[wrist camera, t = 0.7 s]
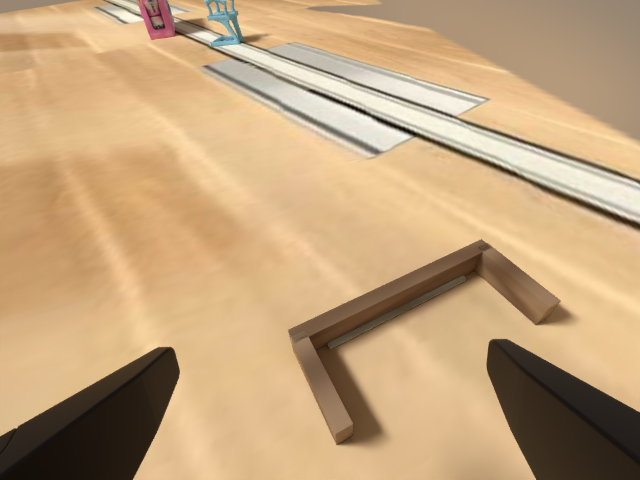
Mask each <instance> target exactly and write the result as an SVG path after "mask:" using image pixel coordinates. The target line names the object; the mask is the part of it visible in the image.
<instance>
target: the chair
mask: <svg viewBox="0 0 640 480" xmlns="http://www.w3.org/2000/svg"><path fill="white" fill-rule="evenodd" d="M204 1H205V3H206V6H207V7H208V10H209V16H207V18H208V20H215V21H218V22H220V23H222V24H223V25H224V26H225V27H226V28H227V30H228V31H229V32H230V34H231V35H232V36H221V37H219V38H217V39H216V40H214V41H213V42H211V46H221V45H232V44H240V42H243V41H244V39H243V36H242V34H241V31H240V28H239V25H238V22H237V15H238V11H235V9H234V0H230V1H231V9H232V12H227V8H226V0H204ZM212 2H215V4H216V9H217V12H216V13H214V14H212V10H211V8H210V6H209V4H210V3H212ZM217 2H219V3H221V4H223V5H224V12H220V9H219V5H218V3H217ZM229 20H231V21H232V23H233V25H234V27H235V30H236V33H237V35H238V37H237V35H236V34H235V32H234V31H233V29H232V28H231V26H230V24H229ZM221 40H229V41H221Z"/></svg>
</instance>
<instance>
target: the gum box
mask: <svg viewBox="0 0 640 480" xmlns="http://www.w3.org/2000/svg"><path fill="white" fill-rule="evenodd" d="M137 2H138V5H139V8H140V11H141V13H142V16H143V19H144V22H145V24H146V27H147V30H148V33H149V35H150V38H151V39H158V38H165V37H172V36H175V22H174V19H173V16H172V13H171V10H170V7H169V4H168V1H167V0H137Z"/></svg>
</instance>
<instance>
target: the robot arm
mask: <svg viewBox="0 0 640 480" xmlns="http://www.w3.org/2000/svg"><path fill="white" fill-rule="evenodd" d="M487 371H488V375H489V377H490V380H491V382H492V385H493V387H494V390H495V392H496V395H497V397H498V400H499V402H500V405H501V407H502V410H503V412H504V415H505V417H506V420H507V422H508V425H509V427H510V429H511V431H512V433H513V435H514V437H515V439H516V441H517V443H518V445H519V447H520V449H521V451H522V453H523V455H524V457H525V459H526V461H527V463H528V465H529V466H530V468H531V470H532V472H533V474H534V476H535V478H536V480H640V412H638V411H636V410H635V409H633V408H631V407H629V406H627V405H626V404H624V403H622V402H620V401H618V400H616V399H615V398H613V397H611V396H609V395H607V394H606V393H604V392H602V391H600V390H598V389H597V388H595V387H593V386H591V385H589V384H587V383H586V382H584V381H582V380H580V379H578V378H577V377H575V376H573V375H571V374H569V373H568V372H566V371H564V370H562V369H560V368H558V367H557V366H555V365H553V364H551V363H549V362H548V361H546V360H544V359H542V358H540V357H539V356H537V355H535V354H533V353H531V352H529V351H528V350H526V349H524V348H522V347H520V346H519V345H517V344H515V343H513V342H511V341H510V340H507V339H492V340H491V341H490V342H489V346H488V355H487ZM179 374H180V370H179V365H178V362H177V358H176V354H175V351H174V349H173V348H172V347H158V348H156V349H154V350H152V351H151V352H149V353H147V354H145V355H143V356H142V357H140V358H138V359H136V360H135V361H133V362H131V363H129V364H128V365H126V366H124V367H122V368H120V369H119V370H117V371H115V372H113V373H112V374H110V375H108V376H106V377H105V378H103V379H101V380H99V381H97V382H96V383H94V384H92V385H90V386H89V387H87V388H85V389H83V390H82V391H80V392H78V393H76V394H74V395H73V396H71V397H69V398H67V399H66V400H64V401H62V402H60V403H59V404H57V405H55V406H53V407H52V408H50V409H48V410H46V411H44V412H43V413H41V414H39V415H37V416H36V417H34V418H32V419H30V420H29V421H27V422H25V423H23V424H21V425H20V426H18V428H17V429H16V428H15V429H12V430H11V431H9V432H7V433H5V434H4V435H2V436H0V480H133V478H134V476H135V475H136V473H137V471H138V469H139V467H140V465H141V463H142V461H143V459H144V457H145V455H146V453H147V451H148V449H149V447H150V445H151V443H152V441H153V439H154V437H155V435H156V433H157V431H158V429H159V426H160V424H161V422H162V419H163V417H164V414H165V412H166V409H167V407H168V404H169V401H170V399H171V396H172V394H173V391H174V389H175V386H176V384H177V381H178V379H179Z"/></svg>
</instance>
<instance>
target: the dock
mask: <svg viewBox="0 0 640 480" xmlns="http://www.w3.org/2000/svg"><path fill="white" fill-rule="evenodd" d="M474 270H475V271H476V272H477V273H478V274H479V275H480V276H481V277H483V278H484V279H485V280H486V281H487V282H488V283H489V284H490V285H491V286H493V287H494V288H495V289H496V290H497V291H498V292H499V293H500V294H502V295H503V296H504V297H505V298H506V299H507V300H508V301H509V302H511V303H512V304H513V305H514V306H515V307H516V308H517V309H518V310H520V311H521V312H522V313H523V314H524V315H525V316H526V317H527V318H528V319H530V320H531V321H532V322H533V323H534V324H535V325H536V324H538V323H540V322H541V321H543V320H545V319H546V318H547V317H548V316H549V315H550V313H551V312H552V311H553V310H554V309H555V307H556V306H557V305H558V304H559V302H560V300H559V299H558V298H557V297H555V296H554V295H553V294H551V293H550V292H549V291H548V290H546V289H545V288H544V287H543V286H541V285H540V284H539V283H538V282H536V281H535V280H534V279H532V278H531V277H530V276H529V275H527V274H526V273H525V272H524V271H522V270H521V269H520V268H519V267H517V266H516V265H515V264H513V263H512V262H511V261H510V260H508V259H507V258H506V257H505V256H503V255H502V254H501V253H500V252H498V251H497V250H496V249H494V248H493V247H492V246H491V245H489V244H488V243H486V242H484V241H483V240H482V239H481V240H479V241H477V242H475V243H472V244H470V245H468V246H466V247H464V248H462V249H460V250H458V251H455V252H453V253H451V254H449V255H447V256H445V257H443V258H441V259H438V260H436V261H434V262H432V263H430V264H428V265H426V266H423V267H421V268H419V269H417V270H415V271H413V272H411V273H409V274H406V275H404V276H402V277H400V278H398V279H396V280H394V281H391V282H389V283H387V284H385V285H383V286H381V287H379V288H377V289H374V290H372V291H370V292H368V293H366V294H364V295H362V296H360V297H357V298H355V299H353V300H351V301H349V302H347V303H345V304H342V305H340V306H338V307H336V308H334V309H332V310H330V311H328V312H325V313H323V314H321V315H319V316H317V317H315V318H313V319H311V320H308V321H306V322H304V323H302V324H300V325H298V326H296V327H293V328H291V329H289V330H288V331H289V335H290V339H291V343H292V346H293V350H294V353H295V355H296V358H297V360H298V362H299V364H300V366H301V369H302V371H303V373H304V375H305V377H306V379H307V382H308V384H309V386H310V388H311V390H312V392H313V395H314V397H315V399H316V401H317V403H318V405H319V408H320V410H321V412H322V414H323V416H324V418H325V421H326V423H327V425H328V427H329V429H330V432H331V434H332V436H333V438H334V440H335V442H336V445H337V444H339V443H340V442H342V441H344V440H345V439H347V438H349V437H350V436H352V435H353V423H352V421H351V419H350V417H349V415H348V413H347V411H346V409H345V407H344V405H343V403H342V401H341V399H340V397H339V395H338V393H337V391H336V390H335V388H334V386H333V384H332V382H331V380H330V378H329V376H328V374H327V372H326V370H325V368H324V366H323V364H322V362H321V360H320V358H319V357H318V355H317V353H316V351H315V350H317V349H319V348H321V347H323V346H325V345H328V347H329V349H332V348H334V347H336V346H338V345H340V344H342V343H344V342H346V341H348V340H350V339H352V338H354V337H356V336H358V335H360V334H362V333H364V332H366V331H368V330H370V329H372V328H373V327H375V326H377V325H379V324H381V323H383V322H385V321H387V320H389V319H391V318H393V317H395V316H397V315H399V314H401V313H403V312H405V311H407V310H409V309H411V308H413V307H415V306H417V305H419V304H421V303H423V302H425V301H427V300H429V299H431V298H433V297H435V296H437V295H439V294H441V293H443V292H444V291H446V290H448V289H450V288H452V287H454V286H456V285H458V284H460V283H462V282H464V281H466V280H467V278H466V277H465V276H464V275H466V274H468V273H470V272H472V271H474Z"/></svg>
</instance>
